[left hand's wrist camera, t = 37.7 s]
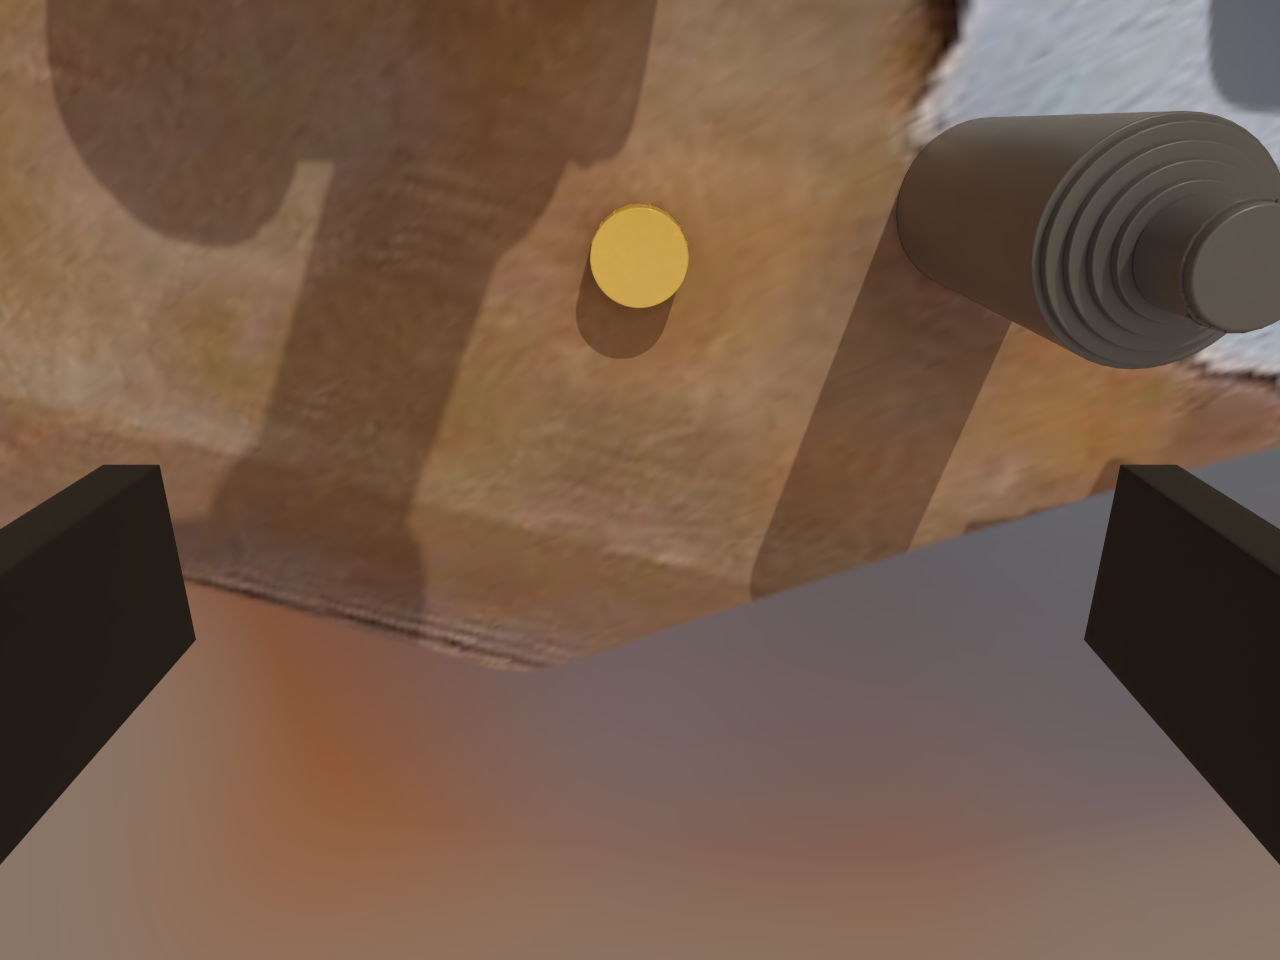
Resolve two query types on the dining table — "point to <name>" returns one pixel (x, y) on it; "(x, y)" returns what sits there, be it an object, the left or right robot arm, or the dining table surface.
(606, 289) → the cap
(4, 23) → the dining table surface
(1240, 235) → the bottle
